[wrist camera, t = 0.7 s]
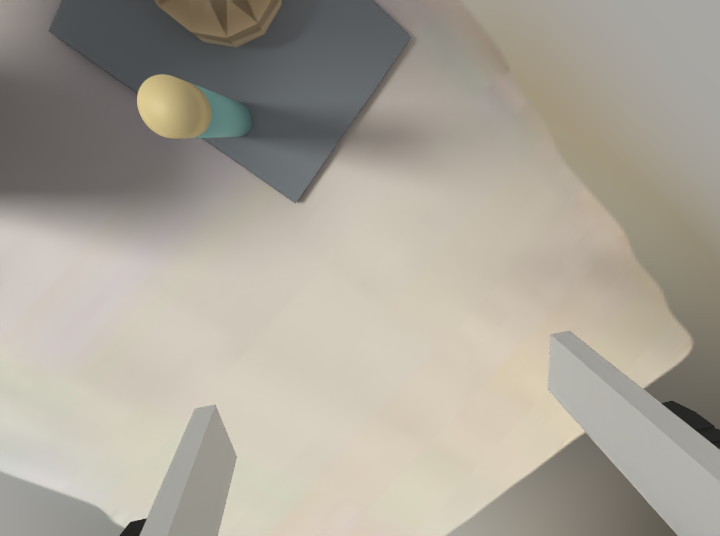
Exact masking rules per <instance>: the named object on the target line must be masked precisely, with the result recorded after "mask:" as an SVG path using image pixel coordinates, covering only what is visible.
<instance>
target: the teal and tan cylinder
mask: <svg viewBox="0 0 720 536" xmlns="http://www.w3.org/2000/svg"><path fill="white" fill-rule="evenodd" d="M137 106H138V110H139V113H140V116H141V117H142V119H143V121H144V122H145V124H146V125H147V126H148V127H149V128H150V129H151V130H152V131H154V132H155V133H157V134H158V135H161V136H163V137H166V138H173V139H177V138H214V137H241V136H244V135H246V134H247V133H248V132H249V131H250V130H251V127H252V124H253V119H252V115H251V112H250V111H249V109H248V108H247V107H246V106H245V105H244V104H242V103H240V102H238V101H235V100H232V99H230V98H227V97H225V96H222V95H220V94H217V93H215V92H212V91H209V90H207V89H204V88H202V87H199V86H197V85H194V84H191V83H189V82H186V81H184V80H181V79H179V78H176V77H173V76H170V75H164V74H160V75H154V76H152V77H150V78H148V79H147V80H146V81H144V83H143V84H142V85H141V87H140V89H139V91H138V95H137Z"/></svg>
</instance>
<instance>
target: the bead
mask: <svg viewBox="0 0 720 536" xmlns="http://www.w3.org/2000/svg"><path fill="white" fill-rule="evenodd" d="M155 2H156V4H157V6H158V7H160V8H161V9H162V10H163V11H165V12H166V13H167V14H169V15H170V16H171V17H172V18H174V19H175V20H176V21H178V22H179V23H180V24H181V25H183V26H184V27H185V28H186V29H188V30H189V31H190V32H191V33H193V34H194V35H195V36H197V37H198V38H199V39H200V40H202V41H203V42H205V43H212V44H218V45H224V46H230V47H236V48H237V47H239V46H241V45H243V44H245V43H247V42H249V41H251V40H253V39H255V38H258V37H260V36H262V35H264V34H265V32H266V31H267V29H268V27H269V26H270V24H271V22H272V20H273V19H274V17H275V15H276V14H277V12H278V10H279V9H280V7H281V3H282V0H155Z"/></svg>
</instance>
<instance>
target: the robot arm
mask: <svg viewBox="0 0 720 536" xmlns="http://www.w3.org/2000/svg"><path fill="white" fill-rule="evenodd" d="M548 391H549V392H550V393H551V394H552V395H553V396H554V397H555V398H556V399H557V401H558V402H559V403H560V404H561V405H562V406H563V407H564V408H565V410H566V411H567V412H568V413H569V414H570V415H571V416H572V417H573V419H574V420H575V421H576V422H577V423H578V424H579V425H580V426H581V428H582V429H583V430H584V431H585V432H586V433H587V434H588V435H589V436H590V438H591V439H592V440H593V441H594V442H595V443H596V444H597V445H598V447H599V448H600V449H601V450H602V451H603V452H604V453H605V454H606V456H607V457H608V458H609V459H610V460H611V461H612V462H613V463H614V465H616V467H617V468H618V469H619V470H620V471H621V472H622V473H623V475H624V476H625V477H626V478H627V479H628V480H629V481H630V482H631V484H632V485H633V486H634V487H635V488H636V489H637V490H638V491H639V492H640V494H641V495H642V496H643V497H644V498H645V499H646V500H647V501H648V503H649V504H650V505H651V506H652V507H653V508H654V509H655V510H656V512H657V513H658V514H659V515H660V516H661V517H662V518H663V519H664V520H665V522H666V523H667V524H668V525H669V526H670V527H671V528H672V529H673V531H674V532H675V533H676V534H677V535H678V536H720V430H719V429H715V427H714V425H712V424H711V423H709V422H708V421H707V420H705V419H704V418H703V417H701V416H700V415H699V414H697V413H696V412H695V411H692V410H690V409H688V408H686V407H684V406H682V405H680V404H678V403H676V402H674V401H669V402H665V403H660V402H659V401H657V400H656V399H655V398H654V397H652V396H651V395H650V394H649V393H647V392H646V391H645V390H644V389H642V388H641V387H640V386H639V385H637V384H636V383H635V382H634V381H632V380H631V379H630V378H628V377H627V376H626V375H625V374H623V373H622V372H621V371H620V370H618V369H617V368H616V367H615V366H613V365H612V364H611V363H610V362H608V361H607V360H606V359H604V358H603V357H602V356H601V355H599V354H598V353H597V352H596V351H594V350H593V349H592V348H591V347H589V346H588V345H587V344H586V343H584V342H583V341H582V340H580V339H579V338H578V337H577V336H575V335H574V334H573V333H572V332H570V331H566V332H561V333H556V334H552V335H551V341H550V359H549V376H548ZM236 458H237V456H236V454H235V451H234V449H233V446H232V444H231V442H230V439H229V437H228V434H227V432H226V429H225V427H224V424H223V422H222V420H221V417H220V415H219V412H218V410H217V407H216V405H211V406H206V407H202V408H197V409H195V410H194V412H193V414H192V416H191V419H190V421H189V423H188V426H187V428H186V430H185V432H184V435H183V437H182V439H181V442H180V444H179V446H178V449H177V451H176V453H175V455H174V458H173V460H172V462H171V465H170V467H169V469H168V471H167V474H166V476H165V478H164V481H163V483H162V485H161V488H160V490H159V492H158V494H157V497H156V499H155V501H154V504H153V506H152V508H151V510H150V513H149V515H148V517H147V518H146V519H142V520H137V521H133V522H130V523H129V524H128V526H127V527H126V528H125V529H124V531H123V532H122V533H121V534H120V536H218V532H219V528H220V524H221V520H222V516H223V512H224V508H225V504H226V499H227V495H228V491H229V487H230V483H231V479H232V475H233V471H234V467H235V462H236Z"/></svg>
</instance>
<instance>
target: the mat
mask: <svg viewBox="0 0 720 536" xmlns="http://www.w3.org/2000/svg"><path fill="white" fill-rule="evenodd" d="M49 32H51V33H52V34H54V35H55V36H57V37H58V38H59V39H61V40H62V41H64V42H65V43H67V44H68V45H69V46H71V47H72V48H74V49H75V50H77V51H78V52H79V53H81V54H82V55H84V56H85V57H87V58H88V59H89V60H91V61H92V62H94V63H95V64H97V65H98V66H100V67H101V68H102V69H104V70H105V71H107V72H108V73H110V74H111V75H112V76H114V77H115V78H117V79H118V80H120V81H121V82H122V83H124V84H125V85H127V86H128V87H130V88H131V89H132V90H134V91H135V92H137V93H138V91H139V89H140V87H141V85H142V84H143V83H144V81H146V80H147V79H148V78H150V77H152V76H154V75H160V74H164V75H170V76H173V77H176V78H179V79H181V80H184V81H186V82H189V83H191V84H194V85H197V86H199V87H202V88H204V89H207V90H209V91H212V92H215V93H217V94H220V95H222V96H225V97H227V98H230V99H232V100H235V101H238V102H240V103H242V104H244V105H245V106H246V107H247V108H248V109H249V111H250V112H251V115H252V119H253V124H252V127H251V130H250V131H249V132H248V133H247V134H246V135H244V136H241V137H214V138H203V139H204V140H206V141H207V142H208V143H210V144H211V145H213V146H214V147H216V148H217V149H218V150H220V151H221V152H223V153H224V154H226V155H227V156H228V157H230V158H231V159H233V160H234V161H236V162H237V163H238V164H240V165H241V166H243V167H244V168H246V169H247V170H249V171H250V172H251V173H253V174H254V175H256V176H257V177H259V178H260V179H261V180H263V181H264V182H266V183H267V184H269V185H270V186H271V187H273V188H274V189H276V190H277V191H279V192H280V193H281V194H283V195H284V196H286V197H287V198H289V199H290V200H291V201H293V202H294V203H296V202H297V201H298V199H299V198H300V196H301V195H302V193H303V192H304V190H305V189H306V188H307V186H308V185H309V183H310V182H311V180H312V179H313V177H314V176H315V175H316V173H317V172H318V170H319V169H320V167H321V166H322V164H323V163H324V162H325V160H326V159H327V157H328V156H329V154H330V153H331V151H332V150H333V149H334V147H335V146H336V144H337V143H338V141H339V140H340V138H341V137H342V136H343V134H344V133H345V131H346V130H347V128H348V127H349V125H350V124H351V123H352V121H353V120H354V118H355V117H356V115H357V114H358V113H359V111H360V110H361V108H362V107H363V105H364V104H365V102H366V101H367V100H368V98H369V97H370V95H371V94H372V92H373V91H374V89H375V88H376V87H377V85H378V84H379V82H380V81H381V79H382V78H383V76H384V75H385V74H386V72H387V71H388V69H389V68H390V66H391V65H392V63H393V62H394V61H395V59H396V58H397V56H398V55H399V53H400V52H401V50H402V49H403V48H404V46H405V45H406V43H407V42H408V40H409V39H410V38H411V37H410V36H409V35H408V34H407V33H406V32H405V31H404V30H403V29H402V28H401V27H400V26H399V25H398V24H397V23H396V22H395V21H394V20H393V19H392V18H391V17H390V16H389V15H388V14H387V13H386V12H385V11H383V10H382V9H381V8H380V7H379V6H378V5H377V4H376V3H375V2H374V1H373V0H282V3H281V7H280V9H279V10H278V12H277V14H276V15H275V17H274V19H273V20H272V22H271V24H270V26H269V27H268V29H267V31H266V32H265V34H264V35H262V36H260V37H258V38H255V39H253V40H251V41H249V42H247V43H245V44H243V45H241V46H239V47H237V48H236V47H230V46H224V45H218V44H212V43H205V42H203V41H202V40H200V39H199V38H198V37H197V36H195V35H194V34H193V33H191V32H190V31H189V30H188V29H186V28H185V27H184V26H183V25H181V24H180V23H179V22H178V21H176V20H175V19H174V18H172V17H171V16H170V15H169V14H167V13H166V12H165V11H163V10H162V9H161V8H160V7H158V6H157V4H156V2H155V0H62V2H61V4H60V7H59V9H58V11H57V14H56V16H55V18H54V21H53V23H52V25H51V27H50V30H49Z"/></svg>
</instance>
